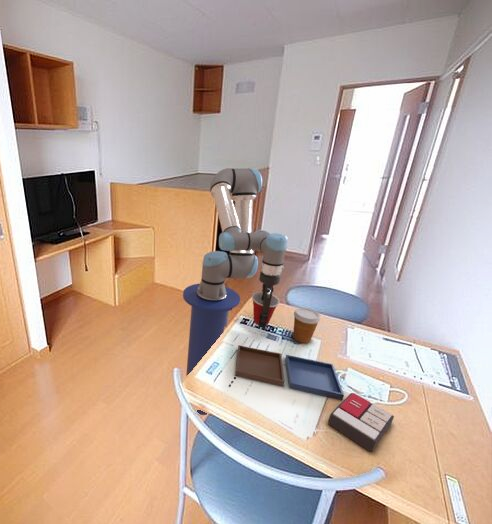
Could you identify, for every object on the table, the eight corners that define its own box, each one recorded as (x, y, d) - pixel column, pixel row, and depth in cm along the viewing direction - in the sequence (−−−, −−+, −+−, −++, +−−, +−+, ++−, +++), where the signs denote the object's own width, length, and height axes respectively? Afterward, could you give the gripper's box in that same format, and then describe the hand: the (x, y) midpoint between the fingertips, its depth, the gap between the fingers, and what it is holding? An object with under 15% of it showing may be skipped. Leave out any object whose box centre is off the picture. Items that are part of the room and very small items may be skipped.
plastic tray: (285, 359, 113) (286, 354, 112) (331, 368, 108) (332, 363, 108) (289, 388, 100) (290, 382, 99) (342, 400, 95) (344, 394, 94)
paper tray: (237, 349, 118) (238, 345, 117) (279, 358, 113) (280, 353, 113) (235, 375, 105) (236, 370, 104) (283, 386, 100) (284, 381, 99)
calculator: (395, 413, 86) (376, 440, 77) (390, 425, 87) (371, 452, 78) (352, 390, 94) (330, 411, 85) (348, 401, 95) (326, 423, 87)
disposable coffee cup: (283, 334, 128) (289, 309, 124) (302, 330, 131) (307, 306, 126) (301, 347, 120) (307, 321, 115) (320, 343, 122) (326, 317, 118)
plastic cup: (257, 331, 123) (262, 306, 119) (242, 317, 133) (246, 293, 128) (280, 328, 126) (286, 302, 121) (264, 314, 136) (268, 290, 131)
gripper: (282, 285, 110) (272, 337, 119) (279, 264, 128) (269, 311, 137) (261, 282, 112) (251, 333, 121) (260, 262, 130) (252, 308, 139)
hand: (261, 321), depth 129 cm, fingers closed on plastic cup, 8 cm apart
